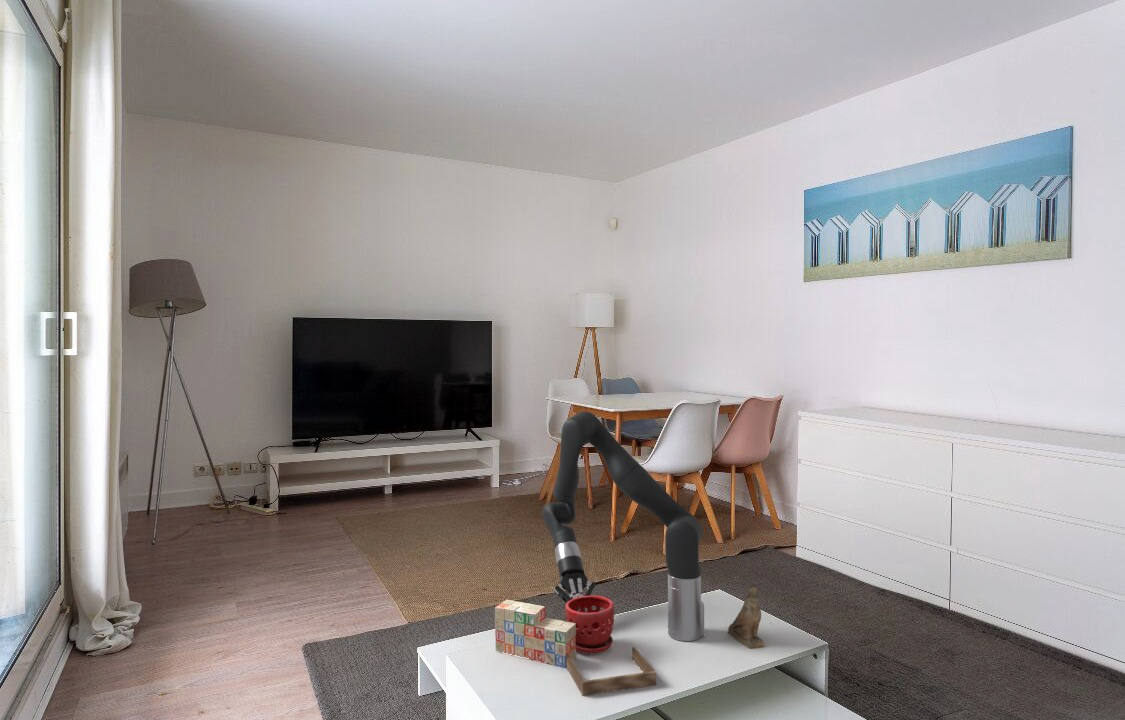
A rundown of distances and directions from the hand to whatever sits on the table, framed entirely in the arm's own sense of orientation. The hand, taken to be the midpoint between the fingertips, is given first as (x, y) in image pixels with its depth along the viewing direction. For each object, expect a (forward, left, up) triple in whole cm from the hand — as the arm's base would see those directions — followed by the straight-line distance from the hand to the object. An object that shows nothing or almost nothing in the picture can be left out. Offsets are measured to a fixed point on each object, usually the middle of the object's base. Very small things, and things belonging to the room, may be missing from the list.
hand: (580, 616), depth 188 cm
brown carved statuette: (-43, +16, -5) cm, 46 cm away
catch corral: (0, +25, -5) cm, 26 cm away
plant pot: (0, +9, -5) cm, 10 cm away
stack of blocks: (+15, +9, -5) cm, 19 cm away
